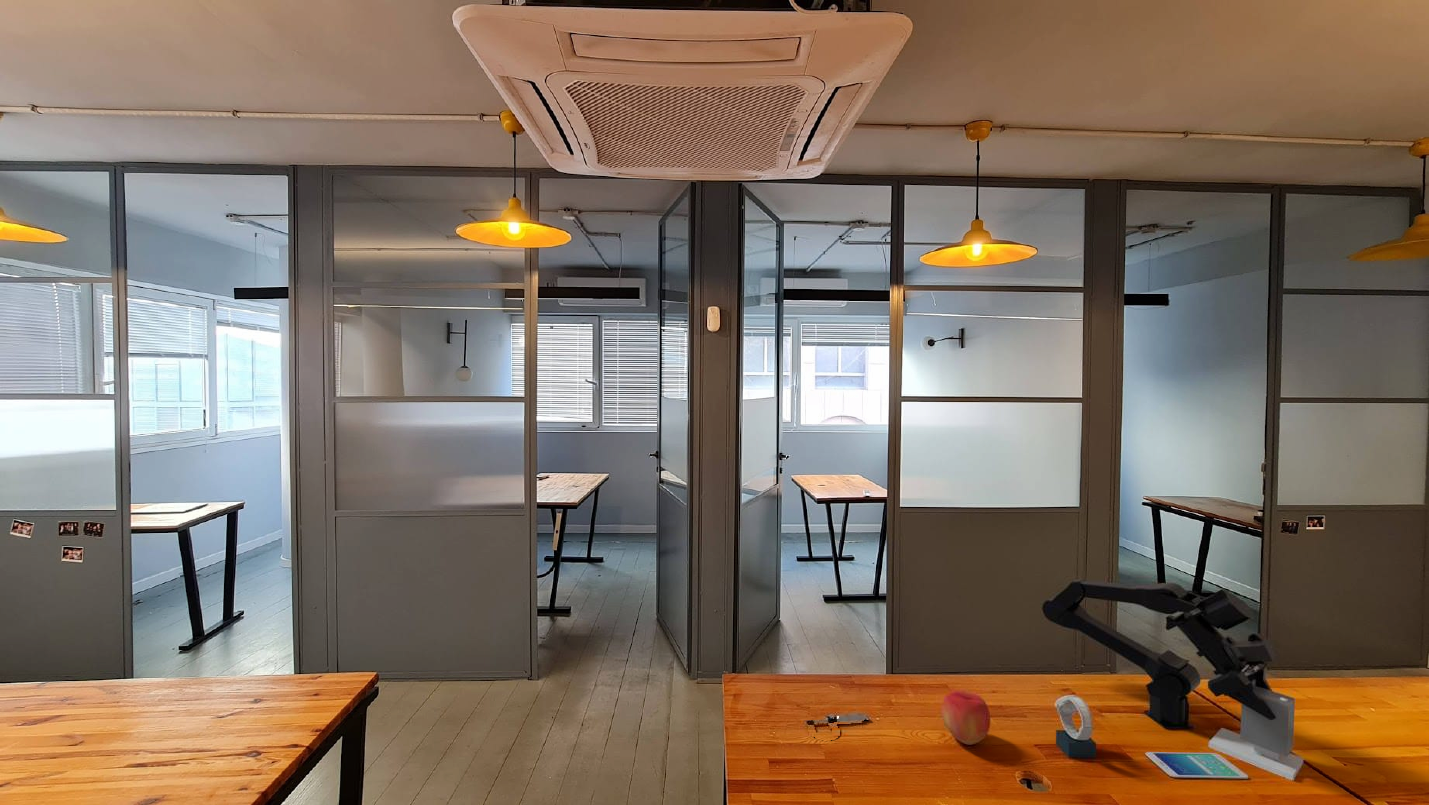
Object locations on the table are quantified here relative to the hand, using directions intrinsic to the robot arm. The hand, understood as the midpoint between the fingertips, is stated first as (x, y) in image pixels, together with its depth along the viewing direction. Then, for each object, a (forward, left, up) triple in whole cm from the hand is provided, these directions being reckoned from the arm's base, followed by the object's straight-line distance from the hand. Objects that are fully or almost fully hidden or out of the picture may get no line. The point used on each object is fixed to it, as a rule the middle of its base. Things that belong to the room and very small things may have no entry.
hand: (1276, 714), depth 113 cm
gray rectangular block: (-1, +1, -7) cm, 7 cm away
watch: (-38, +5, -10) cm, 39 cm away
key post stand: (-2, +3, -10) cm, 10 cm away
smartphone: (-17, -1, -10) cm, 20 cm away
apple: (-59, +9, -10) cm, 60 cm away
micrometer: (-85, +13, -11) cm, 86 cm away
